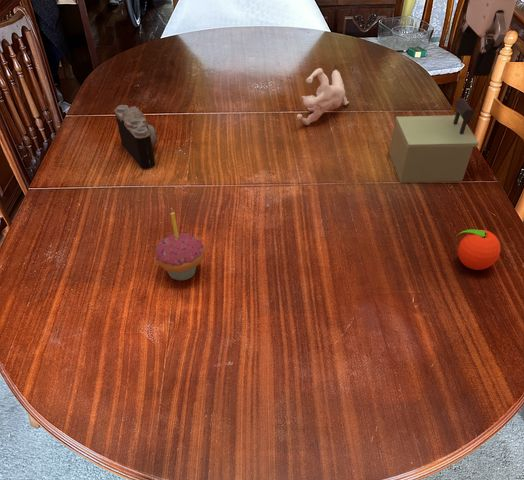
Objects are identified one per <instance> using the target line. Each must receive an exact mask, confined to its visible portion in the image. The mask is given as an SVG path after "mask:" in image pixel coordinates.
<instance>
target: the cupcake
mask: <svg viewBox="0 0 524 480" xmlns="http://www.w3.org/2000/svg"><path fill="white" fill-rule="evenodd" d="M173 210H174V209H173V207H170V219H171V223H172V228H173V233H172V234H167V235H166V236H164V237H162V239H161V240H160V241H159V242H158V243H157V245H156V246H155V251H154V258H155V260H156V264H157V265H158V266H159V267H160V268H161V269H163V270H165V271H166V272H167V274H168V275H169V277H170V278H171V279H173V280H174V281H175V280H176V281H186V280H189V279H191V278H193V277H194V275H195V274H196V271H197V267H198V266H199V265H200V264H201V263H202V261H203V258H204V255H205V247H204V244H203V243H202V241H201V240H200V239H199V238H198V237H196V236H194V235H193V234H190V233H186V232H179V231H178V230H179V229H178V225H177V220H176V213H175V211H173Z"/></svg>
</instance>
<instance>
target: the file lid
mask: <svg viewBox="0 0 524 480" xmlns="http://www.w3.org/2000/svg"><path fill="white" fill-rule="evenodd" d="M454 108H455V109H456V111H455V115H454V114H453V115H411V116H409V115H407V116H406V115H405V116H396V117H395V121H396V122H397V125H398V127H399V129H400V131H401V133H402V136H403V138H404V140H405V142H406V145H407V147H408V148H434V147H473V148H474V147H475V148H477V147H479V145H480V143H479V141H478V139H477V138H476V135H474V133H473V131H472V130H471V128H470V127H469V125H468V121H469V120H472V118H473V116H474V110H473V109H472V108H471V106H470V105H469V103H468V102H467V100H466V99H465V98H464V97H460V98H458V99H457V100H456V101H455V102H454Z"/></svg>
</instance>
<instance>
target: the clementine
mask: <svg viewBox="0 0 524 480" xmlns="http://www.w3.org/2000/svg"><path fill="white" fill-rule="evenodd" d="M463 233H466V235H465V236H464V237H462V238H461V240H460V242H459V244H458V247H457V255H458V259H459V261H460V263H461V264H462V265H463V266H465V267H466V268H468V269H471V270H473V271H482V270H485V269H488V268H489V267H492V266H493V265H494V264H495V263H496V262H497V260H498V259H499V257H500V253H501V242H500V240H499V238H498V237H497V235H495V234H494V233H493V232H491V231H489V230H486V229H476V228H475V229H473V228H472V229H471V228H470V229H466V230H463V231H459V233H458V234H457V236H459V235H460V234H463Z"/></svg>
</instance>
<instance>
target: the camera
mask: <svg viewBox="0 0 524 480" xmlns="http://www.w3.org/2000/svg"><path fill="white" fill-rule="evenodd" d="M114 116H115V119H116V124H117V128H118V132H119V133H118V134H119V137H120V141H121V146H122V147H123V149H124V150H125V151H126V152H127V153H128V154H129V156H130V157H131V158H132V159H133V161H134V162H135V163H136V164H137V166H139V168H140V169H141V170H146V171H147V170H151V169H153V168H155V167H156V159H155V155H154V147H155V146H156V144H157V143H158V135H157V133H156V129H155V127H154V126H153V125H151V124H148V121H147V118H146V116H145V115H144V113H143V112H142V111H141V110H140V109H139V108H138V107H137V106H136V105H133V106H131V107H129V106H128V105H127V104H119V105H117V106H116V108H115V109H114Z"/></svg>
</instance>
